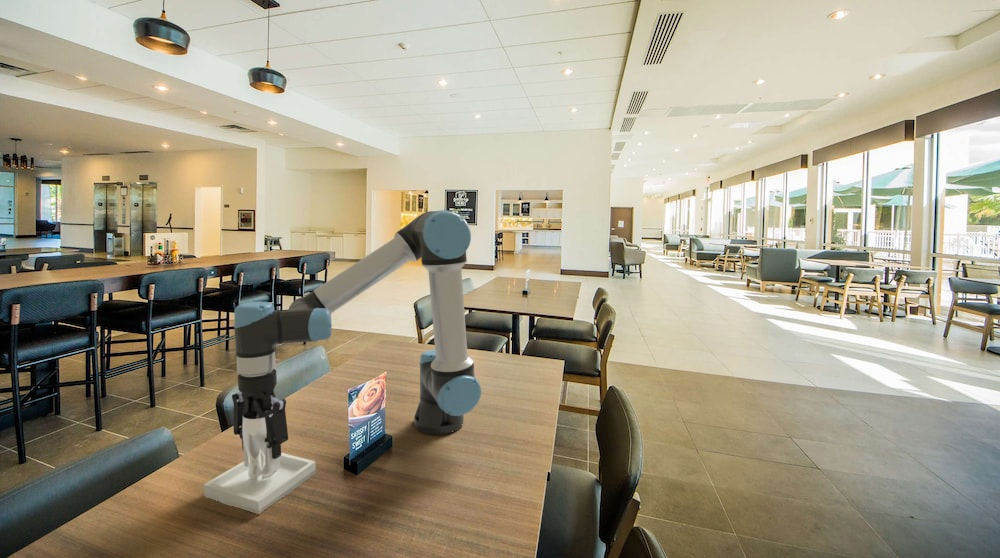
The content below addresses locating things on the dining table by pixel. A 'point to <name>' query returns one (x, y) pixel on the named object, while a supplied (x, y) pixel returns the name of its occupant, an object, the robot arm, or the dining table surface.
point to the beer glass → (256, 447)
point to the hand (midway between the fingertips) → (262, 466)
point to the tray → (259, 484)
